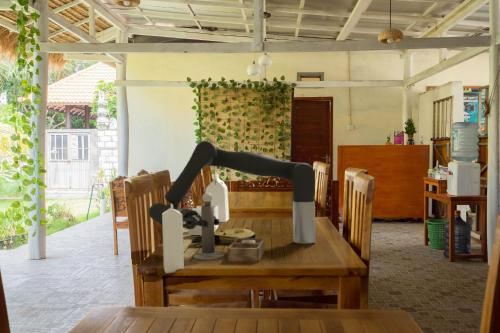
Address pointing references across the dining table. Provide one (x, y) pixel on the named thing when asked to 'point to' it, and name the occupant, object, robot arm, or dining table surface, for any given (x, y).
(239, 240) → the caddy
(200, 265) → the dining table surface
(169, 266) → the milk
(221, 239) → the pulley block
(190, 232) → the storage container
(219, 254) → the disc
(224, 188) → the milk
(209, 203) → the pepper mill
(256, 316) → the dining table surface
